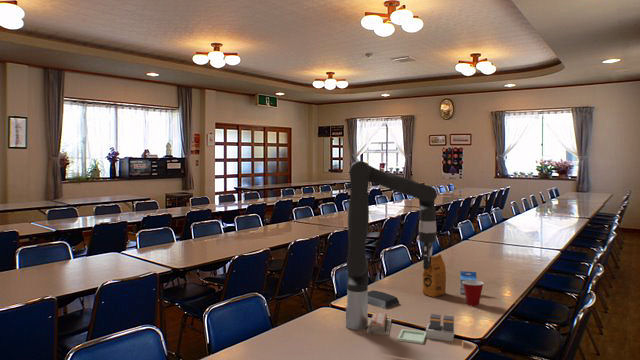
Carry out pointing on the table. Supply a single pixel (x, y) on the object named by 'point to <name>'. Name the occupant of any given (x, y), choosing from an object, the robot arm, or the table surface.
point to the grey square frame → (442, 330)
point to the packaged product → (379, 324)
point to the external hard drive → (381, 299)
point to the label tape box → (466, 277)
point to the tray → (412, 336)
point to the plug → (435, 322)
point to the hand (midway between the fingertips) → (427, 266)
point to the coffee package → (435, 277)
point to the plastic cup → (473, 291)
